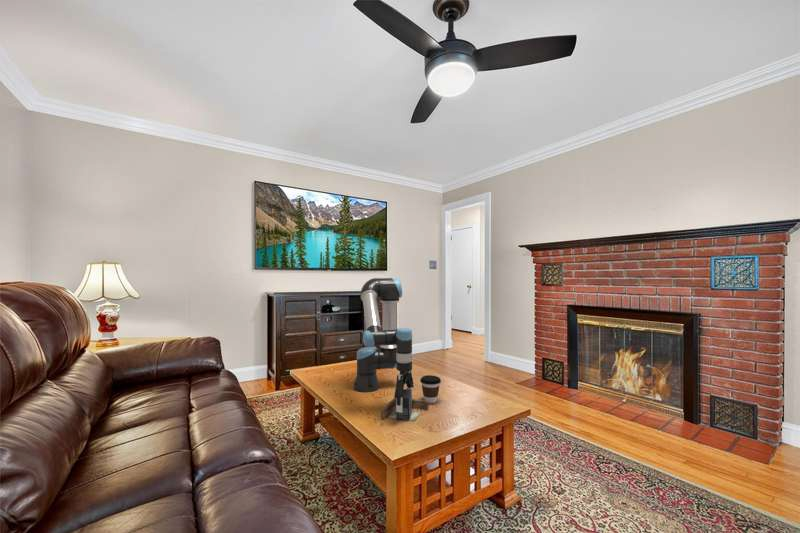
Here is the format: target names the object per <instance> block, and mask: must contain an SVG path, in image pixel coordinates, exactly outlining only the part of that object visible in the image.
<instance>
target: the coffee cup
mask: <svg viewBox="0 0 800 533" xmlns="http://www.w3.org/2000/svg"><path fill="white" fill-rule="evenodd" d="M441 382H442V379H441V378H440V377H439V376H437V375H424V376H421V378H420V383H421V389H422V395H423V400H425V401H429V404H435V403H437V401H438V396H439V391H440V390H439V389H440V384H441Z"/></svg>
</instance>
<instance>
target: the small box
mask: <svg viewBox="0 0 800 533" xmlns="http://www.w3.org/2000/svg"><path fill="white" fill-rule="evenodd" d="M412 399H413V389H412V390H411V389H406V388H405V389H403V393H402V413H401V412H397V419H396V420H404V421H409V420H410V417H411V413H412V412H413V408H412Z"/></svg>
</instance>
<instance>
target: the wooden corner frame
mask: <svg viewBox="0 0 800 533" xmlns="http://www.w3.org/2000/svg"><path fill="white" fill-rule="evenodd" d="M429 404H430V403H429V401H425V400H424V399H423V400H422V399H416V398H412V409H416V410H417V409H418V410H423V411H429V409H430V408H429ZM380 411H381V412H380V416H381V417H380V418H381V420H386V418H392V419H396V420H398V419H397V412H396V398H394V397H393V398H392V399H391V401H389V402H388V403H387V404H386V405H385V406H384V407H383V408H382V409H381V410H380ZM420 415H421V412H417V411H416V412H415V411H412V413H411V417H410V420H408V421H409V422H415V421H417V419H418V418H419V416H420Z"/></svg>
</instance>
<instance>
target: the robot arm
mask: <svg viewBox="0 0 800 533" xmlns="http://www.w3.org/2000/svg"><path fill="white" fill-rule="evenodd" d="M402 297H403V287H402V282H401V281H400V279H399V278H397V277H395V278H393V277H385V278H380V277H378V278H376V277H374V278H370V279H368V280H367V281H366V282H364V284H363V285H362V287H361V289H360V299H361V301H362V304H363V310H364V320H365V321H364V322H365V329H366V330H364V331H363V335H362V336H363V338H362V339H363V340H362V341H363V345H364V346H365V347H361V348H359V349H358V350H357V352H356V376H355V379H354V382H353V389H354V391H357V392H362V393H368V392H369V393H370V392H375V391H377V390H379V389H380V381H379V378H378V374H377V370H387V369H388V370H389V369H391V370H393V369H396V370H397V371H398V372H399V374H397V375H396V382H395V383H396V384H395V388H394V390H395V391H394V395H393V399H394V398H396V408H395V409H396V412H401V413H402V393H403V389H404V387H405V385H406V387H405V389H411V390H412V391H413V388H414V387H415V386H414V379H413V374H412V370H413V362H412V361H413V357H414V355H413V330H412V329H411V328H409V327H399V328H398V327H397V324H398V322H397V320H398V319H397V317H398V316H397V315H398V311H397V309H398V308H397V306H398V302H400V299H401V298H402ZM377 299H379V301H380V303H381V304H382V327H381V319H380V313H379V308H378V307H379V306H378V302H377ZM377 346H378V347H379V348H377Z"/></svg>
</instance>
